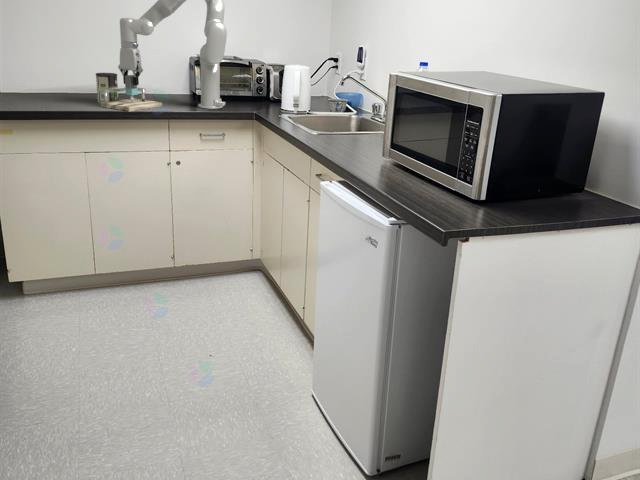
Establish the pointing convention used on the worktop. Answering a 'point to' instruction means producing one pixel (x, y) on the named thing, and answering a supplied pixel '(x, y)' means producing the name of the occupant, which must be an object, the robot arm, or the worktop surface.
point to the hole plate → (131, 104)
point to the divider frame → (124, 90)
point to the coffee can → (106, 86)
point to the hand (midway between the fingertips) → (131, 84)
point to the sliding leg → (130, 87)
